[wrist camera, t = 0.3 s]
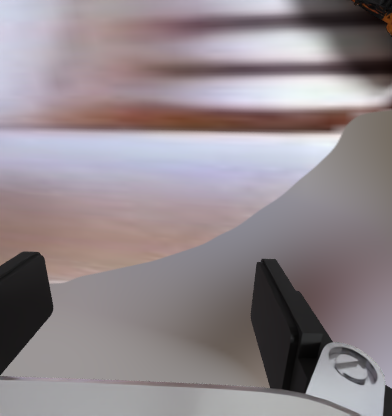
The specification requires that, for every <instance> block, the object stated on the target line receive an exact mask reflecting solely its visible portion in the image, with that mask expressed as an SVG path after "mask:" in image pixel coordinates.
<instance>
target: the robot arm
mask: <svg viewBox="0 0 392 416" xmlns="http://www.w3.org/2000/svg"><path fill="white" fill-rule="evenodd" d="M52 312H53V302H52V297H51V292H50V287H49V281H48V275H47V270H46V265H45V259H44V257H43V256H42V255H41V254H40V253H39V252H22V253H20V254H18V255H17V256H15V257H14V258H12V259H10V260H9V261H7V262H6V263H4V264H3V265H1V266H0V375H1V374H2V373H3V371H4V370H5V369H6V368H7V367H8V365H9V364H10V363H11V362H12V361H13V360H14V358H15V357H16V356H17V355H18V354H19V352H20V351H21V350H22V349H23V348H24V346H25V345H26V344H27V343H28V342H29V340H30V339H31V338H32V337H33V336H34V335H35V333H36V332H37V331H38V330H39V329H40V327H41V326H42V325H43V324H44V323H45V322H46V320H47V319H48V318H49V317H50V316H51V314H52ZM251 321H252V325H253V328H254V332H255V336H256V339H257V342H258V346H259V350H260V353H261V357H262V360H263V363H264V367H265V371H266V375H267V378H268V382H269V385H270V388H263V387H250V386H234V385H218V384H199V383H176V382H150V381H126V380H99V379H98V380H97V379H69V378H41V377H40V378H39V377H8V376H0V416H392V389H391V388H390V387H388V386H386V385H385V378H384V374H383V372H382V370H381V369H380V367H379V366H378V365H377V364H376V362H375V361H374V360H373V359H372V358H370V357H369V356H368V355H367V354H366V353H364V352H362V351H361V350H359V349H357V348H355V347H353V346H351V345H348V344H344V343H339V342H333V341H332V340H331V338H330V337H329V335H328V334H327V332H326V331H325V329H324V328H323V326H322V325H321V323H320V322H319V320H318V319H317V317H316V315H315V314H314V313H313V311H312V310H311V308H310V306H309V305H308V303H307V302H306V300H305V299H304V297H303V296H302V294H301V293H300V292H299V291H296V290H295V289H294V287H293V286H292V284H291V283H290V281H289V279H288V278H287V276H286V275H285V273H284V271H283V270H282V268H281V267H280V265H279V264H278V262H277V261H276V259H262V260H261V262H257V265H256V274H255V282H254V291H253V300H252V308H251Z"/></svg>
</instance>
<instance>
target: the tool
mask: <svg viewBox="0 0 392 416" xmlns="http://www.w3.org/2000/svg"><path fill="white" fill-rule="evenodd" d="M352 1H353V2H354V5H355V6H356V5H357V4H358V5H359V6H360V7H362V8H363V9H365V10H366V11H368V12H369V13H371V14H372V15H374V16H376V17H377V18H379V19H381V20H383V21H385V22H386V23H388V25H387V26H386V29H387V32H389V33H390V34H391V37H392V0H352Z"/></svg>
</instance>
